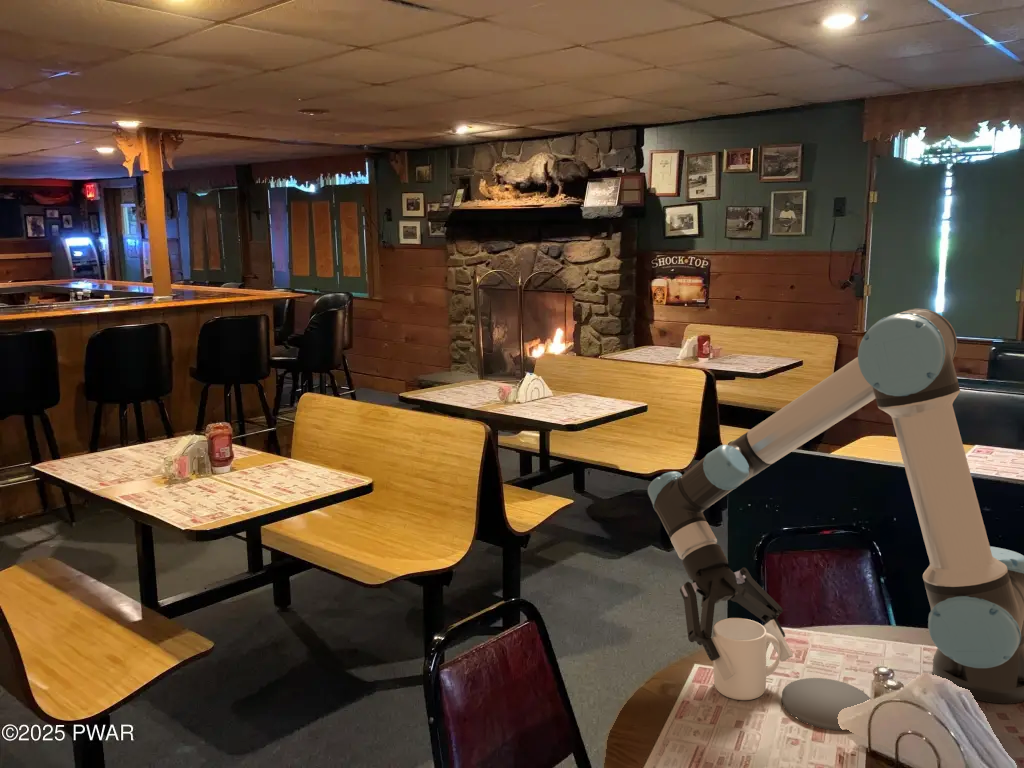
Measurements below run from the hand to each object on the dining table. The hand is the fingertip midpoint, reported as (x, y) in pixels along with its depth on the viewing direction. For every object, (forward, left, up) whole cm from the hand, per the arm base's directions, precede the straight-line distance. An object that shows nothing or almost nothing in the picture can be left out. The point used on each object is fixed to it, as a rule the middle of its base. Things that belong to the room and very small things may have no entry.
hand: (759, 668), depth 135 cm
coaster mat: (-11, +1, -5) cm, 12 cm away
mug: (+2, -2, -5) cm, 5 cm away
